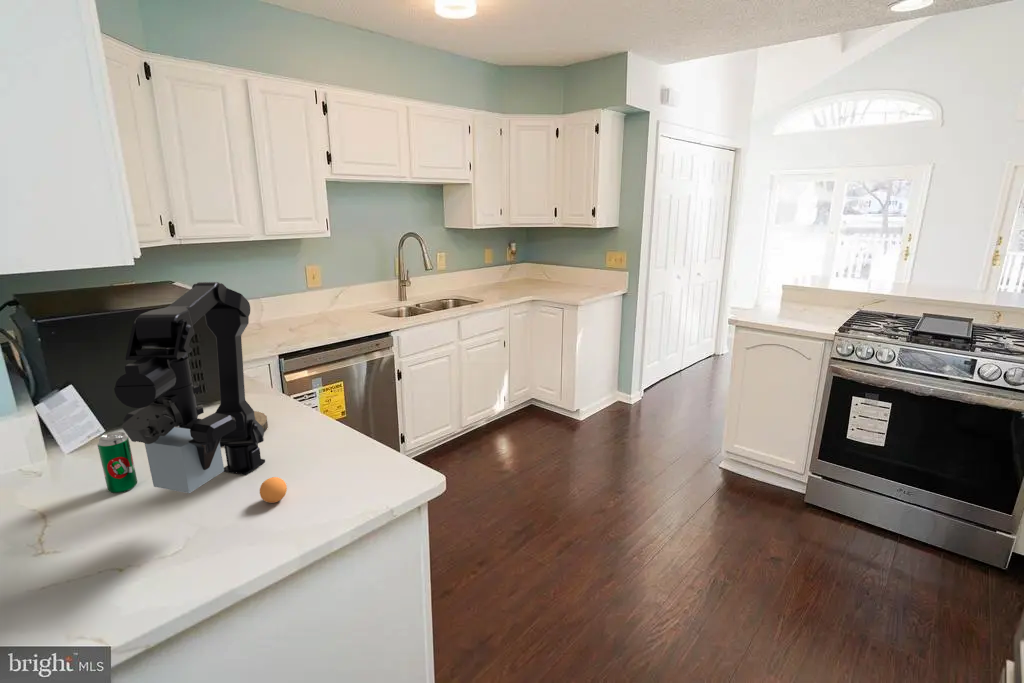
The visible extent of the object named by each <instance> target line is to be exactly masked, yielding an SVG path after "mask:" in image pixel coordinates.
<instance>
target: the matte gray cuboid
mask: <svg viewBox="0 0 1024 683" xmlns="http://www.w3.org/2000/svg"><path fill="white" fill-rule="evenodd" d="M192 439H193V438H192V437H191V434H190V429H186V428H176V427H174V428H173V429H172V430H171V431H170V432H169V433H168V434H167V435H165V436H160V437H159V439H158V440H157V441H155V442H154V443H151V444H145V443H144V447H145V452H146V456H147V457H146V458H147V461H148V467H149V471H150V475H151V480H152V486H153V487H154V488H158V489H165V490H169V491H173V492H174V491H175V492H180V493H185V494H190V493H193V492H194V491H195V490H197V489H199V488H200V487H201V486H203V485H204V484H206V483H208V482H209V481H210V480H212V479H214V478H215V477H217V476H218V475H220V474H222V473H224V467H225V465H224V462H223V461H224V460H223V455H222V447H220V442H219V444H218V447H217V449H216V452H215V454H214V457H213V460H212V462H211V465H210V467H209V468H208V469H206V470H203V468H202V466H201V463H200V459H199V455H198V451H197V447H196V446H195V445H193V444H191V443H189V441H191V440H192Z"/></svg>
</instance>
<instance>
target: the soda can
mask: <svg viewBox="0 0 1024 683" xmlns="http://www.w3.org/2000/svg"><path fill="white" fill-rule="evenodd" d="M130 443H131V442H130V438H129V437H128V435H127V434H126V432H125V431H115V432H110V433H106V434H103V435H102V436H100V437H99V438H98V442H97V449H98V454H99V458H100V462H101V466H102V471H103V475H104V479H105V485H106V488H107V491H108V492H110V493H112V494H121V493H125V492H129V491H131V490H132V489H134V488H135V487H136V486H137V484H138V478H137V472H136V468H135V464H134V463H135V462H134V458H133V453H132V450H131V449H132V448H131V444H130Z"/></svg>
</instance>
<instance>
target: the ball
mask: <svg viewBox="0 0 1024 683" xmlns="http://www.w3.org/2000/svg"><path fill="white" fill-rule="evenodd" d="M287 490H288V485H287V483H286V481H284V479H282V478H280V477H276V476H273V477H270V478H269V477H268V478H267V479H266V480H264V481H263V482H262V483H261V485H260V487H259V496H260V498H261V499H262V500H263V501H264V502H266V503H268V504H269V503H270V504H272V503H273V504H274V503H277V502H280V501H281V500H282V499H284V497H285V496H286V493H287Z"/></svg>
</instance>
